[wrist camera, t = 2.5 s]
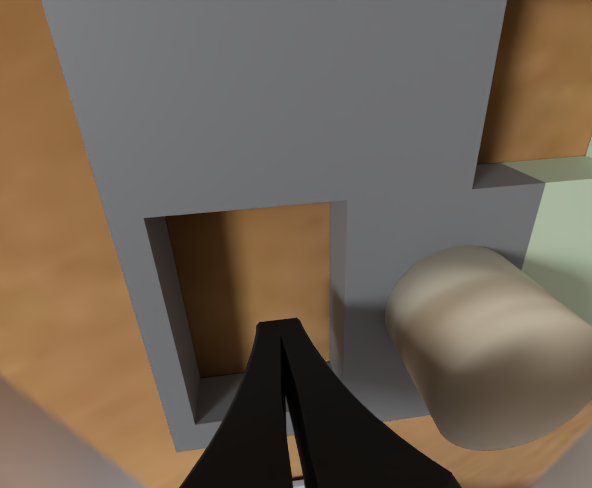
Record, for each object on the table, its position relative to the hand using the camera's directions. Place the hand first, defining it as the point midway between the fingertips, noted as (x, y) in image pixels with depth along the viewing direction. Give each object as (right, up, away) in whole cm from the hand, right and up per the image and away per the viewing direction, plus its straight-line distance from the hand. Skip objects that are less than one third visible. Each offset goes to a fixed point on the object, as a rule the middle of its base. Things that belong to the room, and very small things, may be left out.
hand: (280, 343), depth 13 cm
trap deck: (+5, +4, +2) cm, 7 cm away
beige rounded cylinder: (+6, +1, +1) cm, 6 cm away
